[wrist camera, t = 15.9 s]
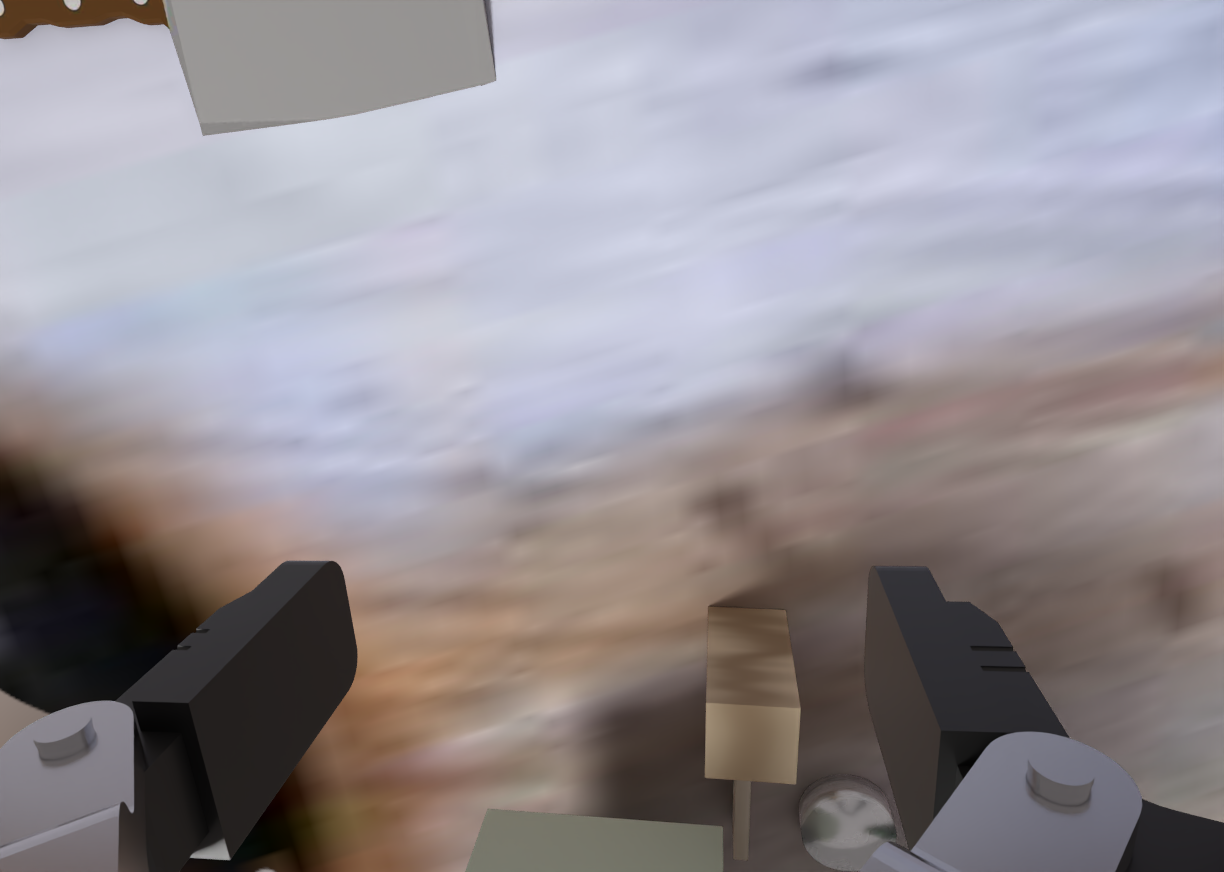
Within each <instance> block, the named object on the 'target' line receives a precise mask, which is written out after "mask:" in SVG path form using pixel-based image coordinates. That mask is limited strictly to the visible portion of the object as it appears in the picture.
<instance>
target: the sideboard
mask: <svg viewBox="0 0 1224 872" xmlns="http://www.w3.org/2000/svg"><path fill="white" fill-rule="evenodd" d="M465 872H723V826H712V825H698V824H685V823H672V822H658V821H645V820H632V819H618V818H605V817H592V816H578V815H565V814H552V813H538V812H525V811H511V810H498V809H488V810H487V812H486V815H485V818H484V821H483V824H482V826H481V829H480V832H479V835H478V838H477V840H476V843H475V846H474V849H473V852H472V854H471V857H470V860H469V863H468V866H467V868H466V871H465Z"/></svg>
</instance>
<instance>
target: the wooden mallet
mask: <svg viewBox="0 0 1224 872" xmlns="http://www.w3.org/2000/svg"><path fill="white" fill-rule="evenodd" d="M800 712H801V707H800V700H799V694H798V687H797V681H796V674H795V668H794V661H793V655H792V648H791V642H790V635H789V629H788V622H787V615H786V610H776V609H754V608H732V607H709V606H708V640H707V685H706V739H705V778H714V779H728V780H734V783H733V815H732V827H733V859H734V860H746V861H748V849H749V824H750V799H751V781H755V782H769V783H783V784H796V777H797V761H798V744H799V728H800Z"/></svg>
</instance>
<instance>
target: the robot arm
mask: <svg viewBox="0 0 1224 872" xmlns="http://www.w3.org/2000/svg"><path fill="white" fill-rule="evenodd" d="M196 630H197V631H196V633H191V634H190V635H189V636H188V637H187V638H186V639H185V640H183V641H182V642H181V643H180V644H179V645H178V649H177V650H172V651H171V652H170V653H169V654H168V655H167V656H166V657H164V658H163V659H162V660H161V661H160V662H159V663H158V664H157V665H155V666H154V667H153V668H152V669H151V670H150V671H149V672H148V673H146V674H145V675H144V676H143V677H142V678H141V679H140V680H139V681H138V682H136V683H135V684H134V685H133V686H132V687H131V688H130V689H129V690H127V691H126V692H125V693H124V694H123V695H122V696H121V697H120V698H118V699H117V700H116V701H115V702H114V701H96V702H89V703H84V704H79V705H76V706H72V707H68V708H66V709H63V710H60V711H57V712H55V713H52V714H50V715H48V716H46V717H44V718H42V719H40V720H38V721H36V722H34V723H32V724H30V725H29V726H27V727H25V728H24V729H23V730H21V731H20V732H18V733H17V734H16V735H14V736H13V737H12V738H11V739H10V740H8V741H7V743H6V744H5V745H4V746H3V747H2V748H1V749H0V872H179V871H180V870H181V868H182V867H183V866H184V864H185V863H186V862H187V860H188V859H189V858H206V859H222V860H231V858H232V857H233V855H234V854H235V852H236V851H237V850H238V848H239V847H240V845H241V844H242V842H243V841H244V840H245V838H246V837H247V835H248V834H249V832H250V831H251V829H252V828H253V827H254V825H255V824H256V822H257V821H258V819H259V818H260V817H261V815H262V814H263V812H264V811H265V809H266V808H267V807H268V805H269V804H270V802H271V801H272V799H273V798H274V797H275V795H276V794H277V792H278V791H279V789H280V788H281V787H282V785H283V784H284V782H285V781H286V779H287V778H288V777H289V775H290V774H291V772H292V771H293V769H294V768H295V767H296V765H297V764H298V762H299V761H300V759H301V758H302V757H303V755H304V754H305V752H306V751H307V749H308V748H309V747H310V745H311V744H312V742H313V741H314V739H315V738H316V737H317V735H318V734H319V732H320V731H321V729H322V728H323V726H324V725H325V724H326V722H327V721H328V719H329V718H330V716H331V715H332V714H333V712H334V711H335V709H336V708H337V706H338V705H339V704H340V702H341V701H342V699H343V698H344V696H345V695H346V694H347V692H348V691H349V689H350V687H351V685H352V683H353V680H354V677H355V673H356V668H357V645H356V640H355V634H354V629H353V623H352V618H351V612H350V607H349V601H348V596H347V590H346V585H345V579H344V575H343V572H342V569H341V567H340V566H339V565H338V563H336V562H334V561H286V562H284V563H282V564H281V565H280V566H279V567H278V568H277V569H275V570H274V571H273V572H272V573H271V574H270V575H269V576H268V577H267V578H266V579H265V580H263V581H262V582H261V583H260V584H259V585H258V586H257V587H256V588H255V589H254V590H253V591H251V592H249V593H247V594H245V595H244V596H242V597H240V598H238V599H236V600H234V601H233V602H231V603H229V604H227V605H225V606H223V607H221V608H220V609H218V610H217V611H216V612H215V613H214V614H213V615H212V616H210V617H209V618H208V619H207V620H206V621H205V622H204V623H203V624H201V625H200V626H199V627H198V628H197V629H196ZM864 676H865V689H866V696H867V702H868V706H869V710H870V714H871V717H872V721H873V724H874V728H875V731H876V735H877V738H878V742H879V745H880V749H881V752H882V756H883V759H884V763H885V766H886V770H887V773H888V777H889V780H890V784H891V787H892V791H893V794H894V798H895V801H896V805H897V808H898V812H899V815H900V819H901V822H902V826H903V829H904V833H905V836H906V840H907V844H908V847H909V850H908V849H906V848H904V847H902V846H900V845H898V844H897V843H895V842H892V841H889V842H886V843H884V844H882V845H881V846H880V847H879V848H878V849H877V850H876V851H875V852H874V853H873V854H872V856H871V857H870V858H869V859H868V861H867V862H866V863H865V865H864V866H863V867H862V868H861V870H860V871H859V872H1224V823H1222V822H1218V821H1214V820H1210V819H1206V818H1202V817H1198V816H1195V815H1191V814H1187V813H1183V812H1179V811H1175V810H1172V809H1168V808H1165V807H1162V806H1159V805H1156V804H1153V803H1151V802H1148V801H1146V800H1143V799H1142V797H1141V794H1140V791H1139V789H1138V787H1137V785H1136V784H1135V782H1134V780H1133V779H1132V778H1131V777H1130V775H1129V774H1128V773H1127V772H1126V771H1125V770H1124V769H1123V768H1122V767H1121V766H1120V765H1118V764H1117V763H1116V762H1115V761H1113V760H1112V759H1111V758H1109V757H1108V756H1106V755H1105V754H1103V753H1101V752H1100V751H1098V750H1096V749H1094V748H1092V747H1090V746H1088V745H1086V744H1083V743H1081V742H1079V741H1076V740H1073V739H1070V738H1069V736H1068V735H1067V733H1066V731H1065V730H1064V728H1063V727H1062V725H1061V723H1060V722H1059V720H1058V719H1057V717H1056V715H1055V714H1054V712H1053V711H1052V709H1051V707H1050V706H1049V704H1048V702H1047V701H1046V699H1045V698H1044V696H1043V694H1042V693H1041V691H1040V690H1039V688H1038V686H1037V685H1036V683H1035V682H1034V680H1033V678H1032V677H1031V675H1030V674H1029V672H1026V670H1025V665H1024V664H1023V662H1022V661H1021V659H1020V657H1019V656H1018V654H1017V653H1016V652H1014V651H1013V646H1012V645H1011V643H1010V641H1009V640H1008V638H1007V637H1006V635H1005V633H1004V632H1003V630H1002V628H1001V627H1000V625H999V624H998V622H996V621H995V620H993V619H992V618H991V617H989V616H988V615H987V614H985V613H984V612H982V611H981V610H980V609H978V608H977V607H975V606H974V605H973V604H971V603H970V602H946V600H945V598H944V597H943V595H942V593H941V591H940V589H939V587H938V585H937V583H936V582H935V580H934V578H933V576H932V574H931V572H930V570H929V569H928V568H927V567H922V566H872V567H871V570H870V573H869V580H868V598H867V617H866V637H865V656H864Z"/></svg>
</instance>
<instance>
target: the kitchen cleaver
mask: <svg viewBox="0 0 1224 872" xmlns="http://www.w3.org/2000/svg"><path fill="white" fill-rule="evenodd" d="M122 18H130V19H133V20H135V21H138V22H140V23H143V24H147V25H161V24H164V25H165V26H167V27H168V28H169V30H170V33H171V36H172V39H173V42H174V45H175V48H176V51H177V54H178V58H179V61H180V64H181V67H182V70H183V73H184V76H185V79H186V82H187V85H188V89H189V92H190V95H191V98H192V101H193V104H194V107H195V110H196V113H197V116H198V120H199V123H200V127H201V130H202V134H203V136H205V135H212V134H220V133H228V132H236V131H243V130H251V129H259V128H266V127H274V126H282V125H289V124H297V123H304V122H311V121H318V120H326V119H332V118H338V117H344V116H349V115H355V114H360V113H364V112H368V111H373V110H377V109H381V108H386V107H390V106H394V105H399V104H403V103H408V102H412V101H416V100H421V99H425V98H429V97H433V96H437V95H441V94H445V93H449V92H454V91H458V90H462V89H467V88H471V87H475V86H479V85H481V86H482V85H485V84H488V83H491V82H494V81H496V76H495V69H494V62H493V55H492V48H491V41H490V34H489V27H488V20H487V13H486V6H485V0H0V38H2V39H13V38H23V37H25V36H26V35H27V34H28V33H29V32H30V31H32V30H33V29H34V28H35V27H36V26H37V25H48V24H51V25H55V26H58V27H65V28H74V27H86V26H99V25H105V24H108V23H110V22H112V21H115V20H117V19H122Z"/></svg>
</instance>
